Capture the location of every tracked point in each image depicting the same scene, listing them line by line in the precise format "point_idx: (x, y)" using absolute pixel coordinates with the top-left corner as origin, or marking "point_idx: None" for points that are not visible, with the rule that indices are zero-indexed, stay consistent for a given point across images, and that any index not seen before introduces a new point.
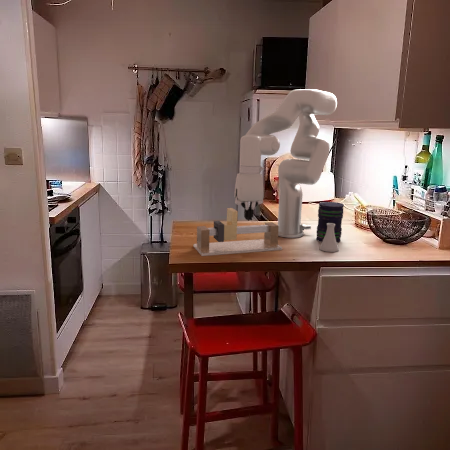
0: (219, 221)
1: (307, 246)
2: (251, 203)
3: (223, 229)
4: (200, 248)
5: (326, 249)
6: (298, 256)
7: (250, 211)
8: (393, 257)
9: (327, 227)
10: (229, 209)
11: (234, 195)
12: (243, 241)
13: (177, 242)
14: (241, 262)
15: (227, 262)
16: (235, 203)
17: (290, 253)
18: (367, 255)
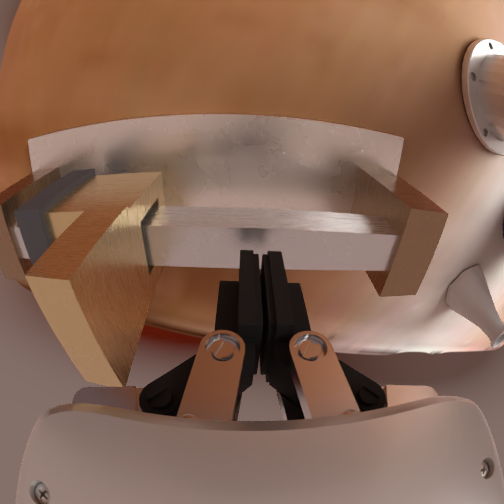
0: (41, 233)
1: (454, 248)
2: (318, 395)
3: None
4: None
5: (449, 305)
6: (361, 321)
7: (260, 366)
8: (482, 338)
9: (491, 333)
10: (53, 327)
11: (28, 454)
12: (255, 133)
13: (3, 82)
14: (168, 328)
15: None
16: (84, 401)
17: (363, 296)
18: (471, 328)
